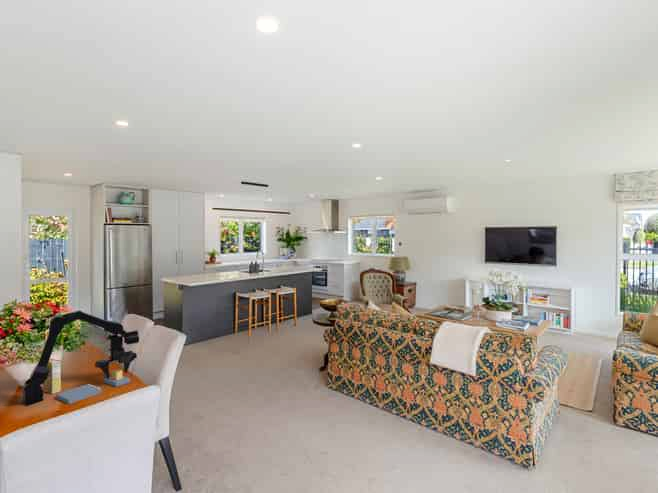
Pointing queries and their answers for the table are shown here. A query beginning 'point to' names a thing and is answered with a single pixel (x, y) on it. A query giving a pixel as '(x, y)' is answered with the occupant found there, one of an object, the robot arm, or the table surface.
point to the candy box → (53, 377)
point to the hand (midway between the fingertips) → (116, 375)
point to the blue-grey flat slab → (78, 393)
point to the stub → (116, 378)
